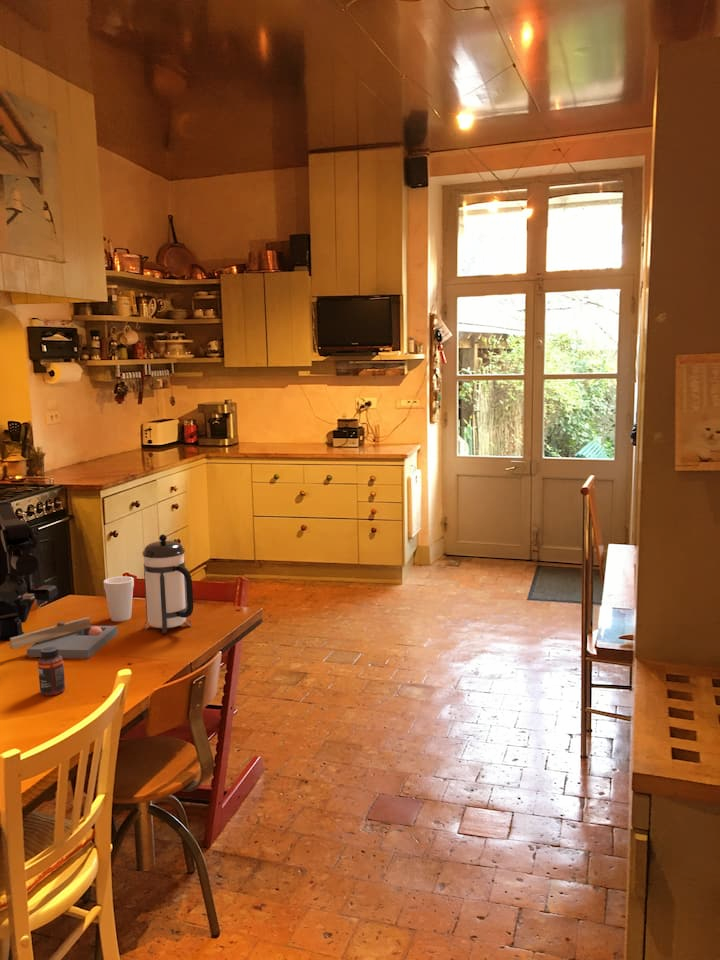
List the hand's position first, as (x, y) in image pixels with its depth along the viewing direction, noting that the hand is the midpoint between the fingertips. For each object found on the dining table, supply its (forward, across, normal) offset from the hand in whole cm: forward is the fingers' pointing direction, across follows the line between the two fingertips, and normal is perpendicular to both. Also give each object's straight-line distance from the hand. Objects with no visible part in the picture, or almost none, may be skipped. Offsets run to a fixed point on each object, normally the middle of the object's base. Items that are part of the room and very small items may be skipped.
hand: (23, 622), depth 216 cm
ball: (+9, +13, +16) cm, 23 cm away
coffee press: (+11, +33, +28) cm, 44 cm away
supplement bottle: (+11, +19, -22) cm, 31 cm away
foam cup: (+11, +13, +37) cm, 40 cm away
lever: (+8, +3, +9) cm, 12 cm away
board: (+11, +9, +11) cm, 18 cm away
